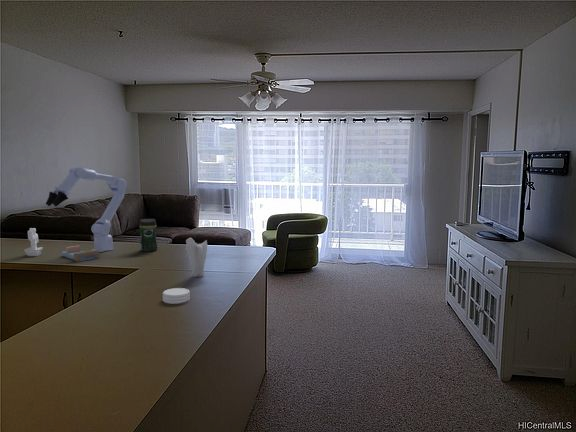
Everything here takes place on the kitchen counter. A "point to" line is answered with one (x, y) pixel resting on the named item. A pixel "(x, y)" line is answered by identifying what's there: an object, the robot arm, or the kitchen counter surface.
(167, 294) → the coaster
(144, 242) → the coffee jar
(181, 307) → the kitchen counter surface
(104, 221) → the robot arm
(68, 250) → the slab with raised block
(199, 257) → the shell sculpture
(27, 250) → the figurine
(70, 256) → the striped blue tabbed panel
